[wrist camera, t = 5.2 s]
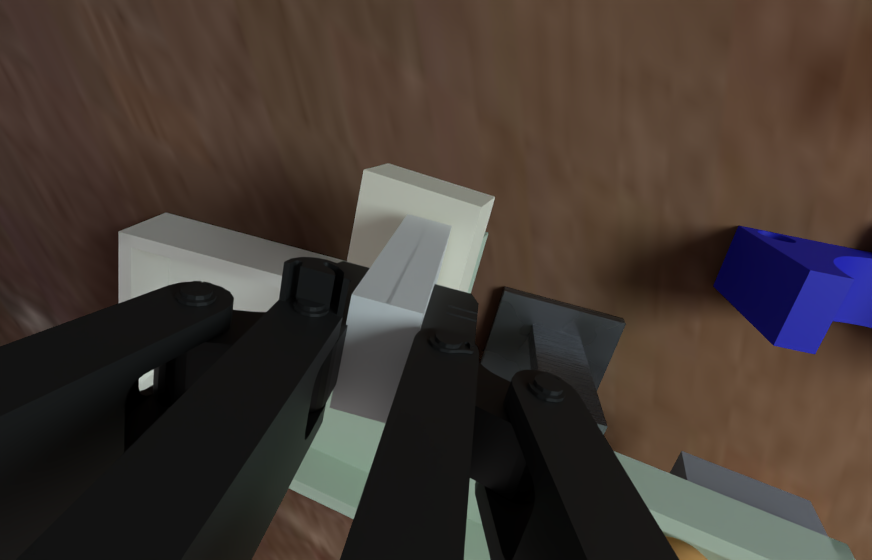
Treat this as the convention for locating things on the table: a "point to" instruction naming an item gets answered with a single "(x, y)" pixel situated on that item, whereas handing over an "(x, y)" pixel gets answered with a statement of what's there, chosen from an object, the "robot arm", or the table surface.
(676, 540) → the ball
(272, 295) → the open white tray
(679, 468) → the lever
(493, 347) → the pivot stand
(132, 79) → the table surface
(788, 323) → the cable clip
